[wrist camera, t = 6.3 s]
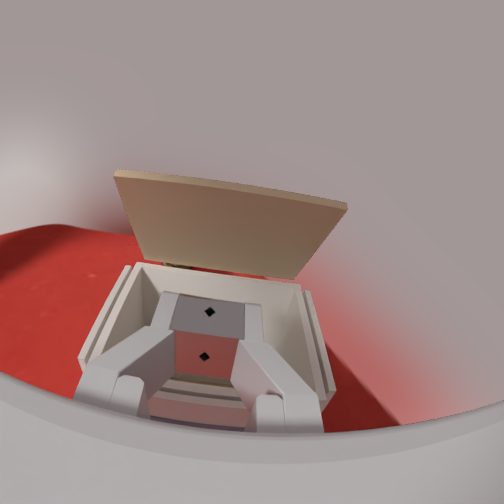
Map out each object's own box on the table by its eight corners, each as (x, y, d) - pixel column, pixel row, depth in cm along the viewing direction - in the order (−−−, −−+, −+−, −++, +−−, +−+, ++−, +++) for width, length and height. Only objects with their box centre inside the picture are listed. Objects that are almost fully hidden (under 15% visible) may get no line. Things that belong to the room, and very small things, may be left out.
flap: (113, 176, 12) (116, 169, 13) (144, 259, 21) (146, 254, 21) (347, 210, 14) (346, 202, 14) (293, 279, 22) (293, 274, 22)
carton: (116, 464, 18) (68, 377, 12) (140, 370, 27) (128, 260, 21) (278, 483, 19) (341, 411, 13) (271, 386, 29) (308, 285, 22)
